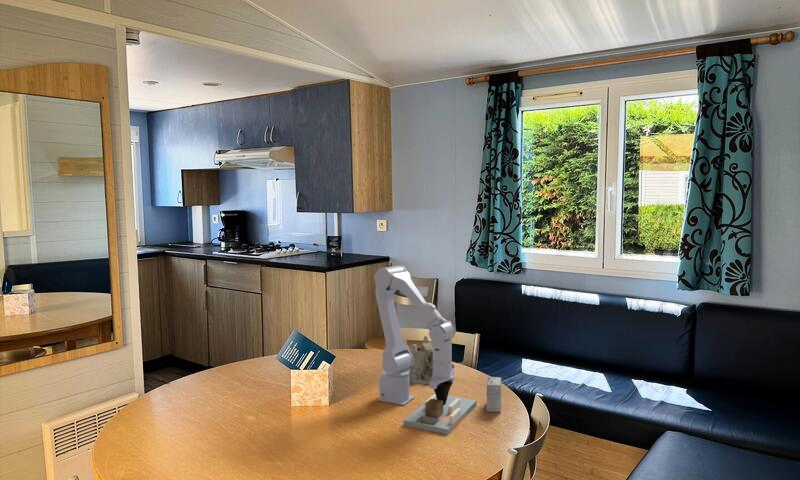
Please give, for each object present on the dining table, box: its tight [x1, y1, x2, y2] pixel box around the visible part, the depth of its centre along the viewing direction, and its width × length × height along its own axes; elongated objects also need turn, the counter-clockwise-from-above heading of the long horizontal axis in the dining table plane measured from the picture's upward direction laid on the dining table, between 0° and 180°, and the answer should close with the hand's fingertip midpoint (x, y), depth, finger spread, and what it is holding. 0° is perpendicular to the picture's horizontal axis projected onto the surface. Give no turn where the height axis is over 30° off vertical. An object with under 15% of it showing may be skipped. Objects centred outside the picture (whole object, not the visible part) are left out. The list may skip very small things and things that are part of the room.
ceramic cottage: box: [409, 335, 456, 385], centre depth 203 cm, size 16×16×15 cm
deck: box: [403, 394, 478, 436], centre depth 171 cm, size 14×24×4 cm, turn 153°
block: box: [424, 399, 443, 419], centre depth 167 cm, size 4×4×4 cm
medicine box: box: [486, 376, 503, 413], centre depth 176 cm, size 8×4×9 cm, turn 168°
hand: (441, 404), depth 172 cm, fingers closed
